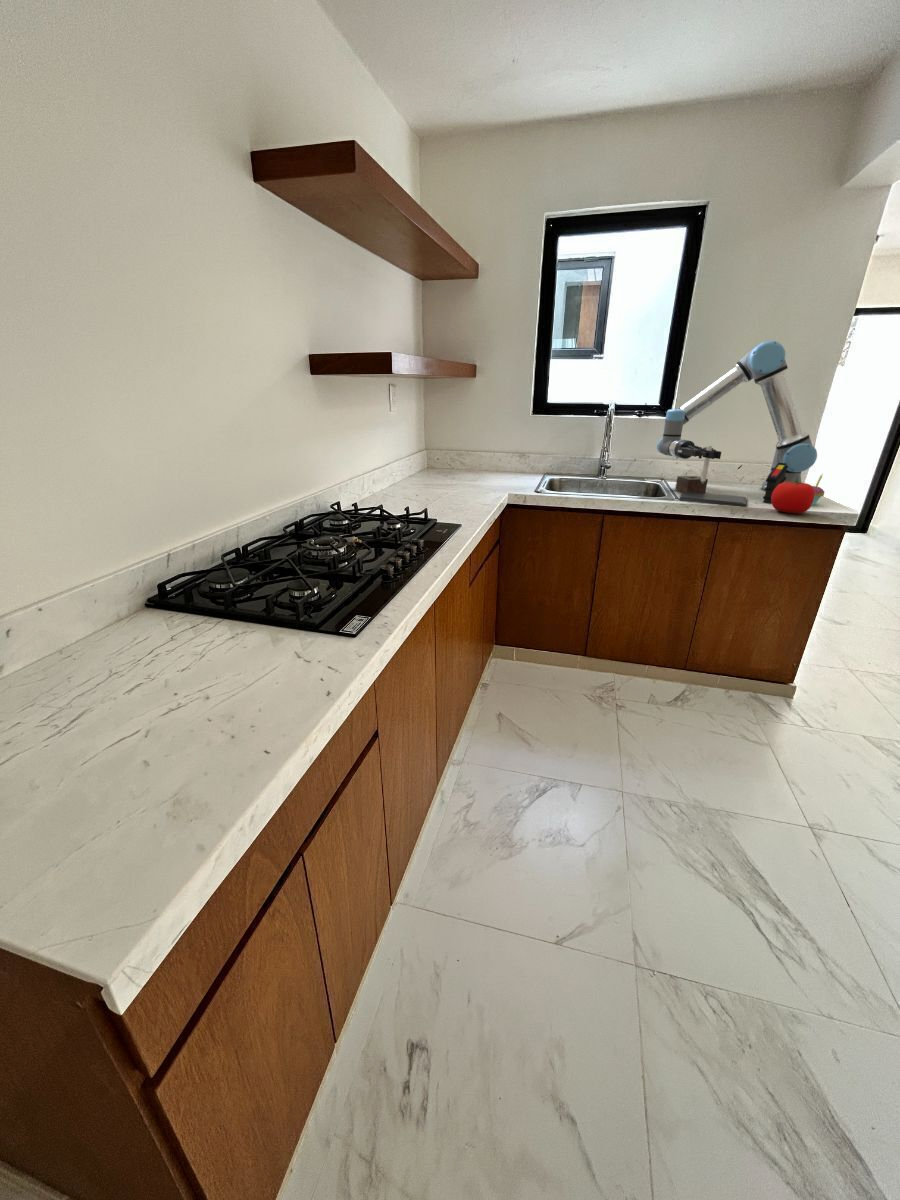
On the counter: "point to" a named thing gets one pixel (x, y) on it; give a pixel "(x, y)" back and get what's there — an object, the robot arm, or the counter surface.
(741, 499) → the plate
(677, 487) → the pen block
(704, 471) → the stylus
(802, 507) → the tomato
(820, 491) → the cupcake
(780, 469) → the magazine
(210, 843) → the counter surface
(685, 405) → the robot arm
